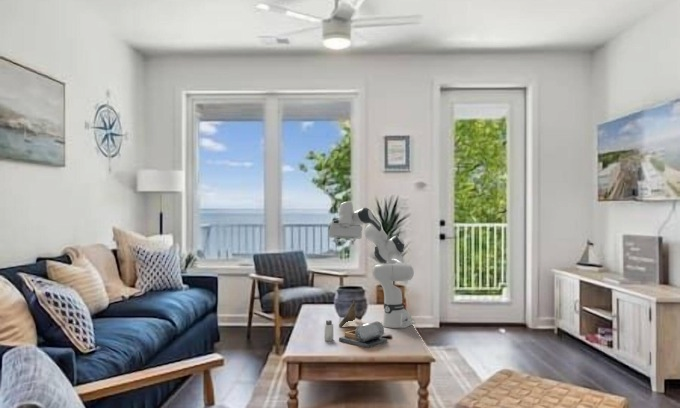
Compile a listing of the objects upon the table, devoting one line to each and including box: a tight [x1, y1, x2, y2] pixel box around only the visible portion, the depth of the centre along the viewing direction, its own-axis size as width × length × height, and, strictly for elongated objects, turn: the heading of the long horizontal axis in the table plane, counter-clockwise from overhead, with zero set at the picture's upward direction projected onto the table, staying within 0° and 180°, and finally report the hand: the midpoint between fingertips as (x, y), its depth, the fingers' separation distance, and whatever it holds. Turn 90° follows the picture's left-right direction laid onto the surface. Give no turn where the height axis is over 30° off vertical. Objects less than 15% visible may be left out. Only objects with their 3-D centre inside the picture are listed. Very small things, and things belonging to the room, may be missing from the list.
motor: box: [338, 321, 388, 349], centre depth 327 cm, size 18×22×11 cm
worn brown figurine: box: [338, 299, 357, 328], centre depth 364 cm, size 12×6×18 cm, turn 100°
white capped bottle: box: [324, 319, 334, 342], centre depth 331 cm, size 5×5×11 cm
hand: (344, 243), depth 354 cm, fingers open, 8 cm apart
